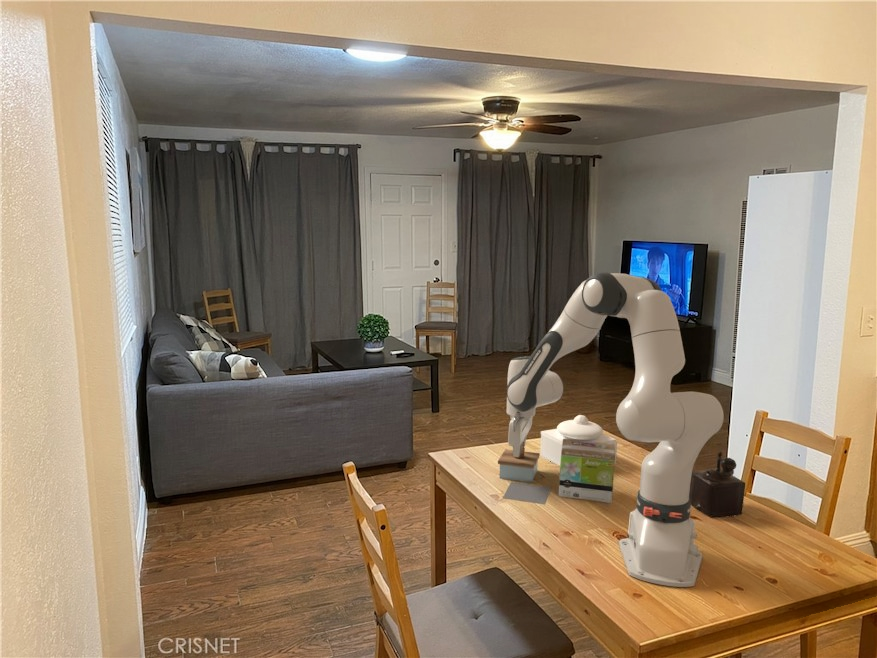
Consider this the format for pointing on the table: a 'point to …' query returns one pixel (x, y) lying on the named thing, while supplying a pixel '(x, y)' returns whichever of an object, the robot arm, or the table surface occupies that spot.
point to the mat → (527, 493)
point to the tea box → (587, 470)
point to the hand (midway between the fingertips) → (519, 451)
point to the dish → (518, 473)
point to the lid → (519, 458)
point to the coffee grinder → (717, 490)
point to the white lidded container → (571, 437)
